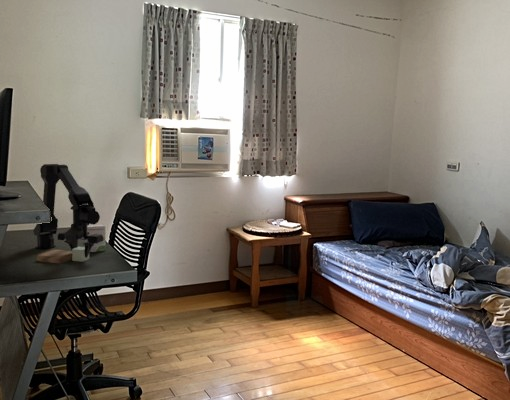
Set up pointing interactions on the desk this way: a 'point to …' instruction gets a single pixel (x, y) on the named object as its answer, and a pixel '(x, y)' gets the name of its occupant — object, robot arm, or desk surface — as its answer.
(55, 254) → the walnut block
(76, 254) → the sage cube
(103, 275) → the desk surface
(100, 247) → the ink box
